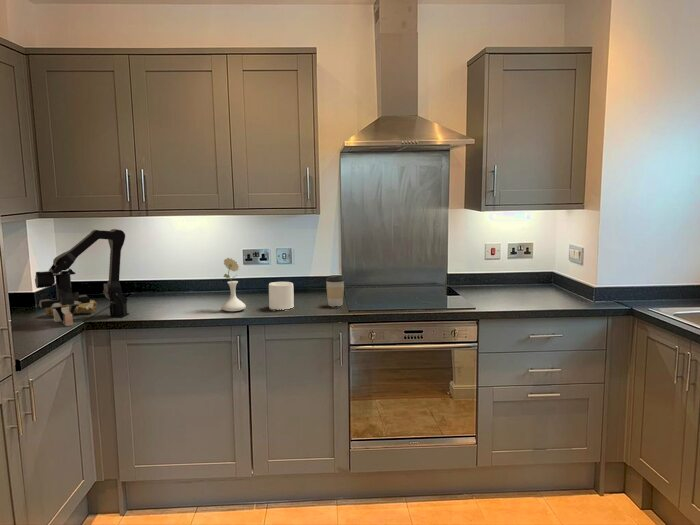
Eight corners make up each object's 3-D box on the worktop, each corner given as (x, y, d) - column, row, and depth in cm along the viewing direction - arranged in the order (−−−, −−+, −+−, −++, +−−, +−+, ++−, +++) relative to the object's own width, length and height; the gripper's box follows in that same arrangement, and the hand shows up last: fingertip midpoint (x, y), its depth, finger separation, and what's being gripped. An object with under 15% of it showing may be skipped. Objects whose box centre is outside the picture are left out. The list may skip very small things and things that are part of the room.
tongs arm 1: (69, 325, 233) (68, 314, 233) (65, 326, 232) (64, 314, 232) (63, 320, 243) (63, 309, 242) (60, 320, 242) (59, 309, 241)
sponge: (96, 312, 264) (51, 306, 259) (98, 297, 262) (52, 291, 257) (89, 324, 252) (42, 318, 247) (91, 308, 250) (43, 302, 245)
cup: (289, 311, 259) (288, 286, 257) (265, 310, 261) (265, 285, 260) (296, 305, 270) (296, 281, 269) (274, 305, 273) (273, 281, 271)
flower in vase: (250, 310, 261) (248, 258, 257) (228, 314, 253) (226, 260, 250) (236, 306, 271) (234, 255, 267) (215, 309, 263) (213, 257, 260)
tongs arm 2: (73, 325, 234) (72, 313, 233) (69, 325, 233) (68, 314, 233) (67, 319, 244) (66, 308, 243) (63, 320, 243) (63, 309, 242)
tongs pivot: (72, 319, 245) (71, 307, 245) (55, 322, 241) (54, 309, 240) (71, 318, 247) (70, 306, 246) (54, 320, 243) (53, 309, 242)
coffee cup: (323, 304, 272) (322, 274, 270) (339, 303, 276) (339, 273, 274) (331, 308, 264) (330, 277, 262) (347, 306, 268) (347, 276, 266)
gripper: (42, 290, 224) (45, 328, 226) (91, 285, 235) (94, 321, 237) (37, 286, 233) (40, 322, 235) (85, 282, 244) (88, 316, 246)
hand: (66, 320), depth 238 cm, fingers open, 3 cm apart
